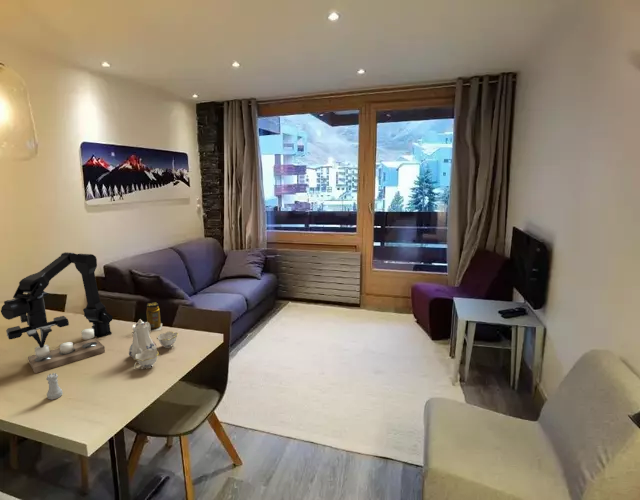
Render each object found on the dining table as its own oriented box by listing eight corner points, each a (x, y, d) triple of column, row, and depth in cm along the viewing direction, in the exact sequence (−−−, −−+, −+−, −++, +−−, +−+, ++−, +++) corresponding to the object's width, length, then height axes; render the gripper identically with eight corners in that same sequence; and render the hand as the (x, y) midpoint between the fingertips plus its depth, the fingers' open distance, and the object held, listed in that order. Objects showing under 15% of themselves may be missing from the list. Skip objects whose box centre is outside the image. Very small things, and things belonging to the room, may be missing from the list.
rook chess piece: (52, 392, 125) (49, 371, 124) (66, 392, 126) (62, 371, 124) (43, 400, 121) (40, 378, 120) (58, 399, 121) (54, 378, 120)
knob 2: (92, 334, 158) (91, 327, 157) (95, 337, 155) (94, 330, 154) (81, 337, 155) (80, 330, 154) (83, 340, 152) (83, 333, 151)
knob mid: (72, 347, 153) (71, 341, 152) (74, 351, 150) (74, 344, 149) (59, 351, 150) (58, 344, 149) (62, 354, 147) (61, 347, 146)
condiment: (162, 323, 185) (160, 301, 183) (161, 330, 177) (159, 306, 175) (146, 325, 182) (144, 302, 180) (144, 332, 175) (142, 308, 172)
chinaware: (156, 377, 139) (157, 336, 135) (111, 373, 137) (111, 333, 134) (180, 344, 166) (182, 309, 163) (143, 341, 165) (143, 306, 162)
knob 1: (48, 350, 147) (47, 343, 146) (50, 354, 144) (49, 347, 143) (34, 354, 144) (33, 347, 143) (37, 358, 141) (35, 351, 140)
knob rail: (96, 343, 163) (95, 337, 162) (105, 352, 155) (104, 346, 154) (29, 362, 146) (28, 356, 145) (34, 373, 138) (33, 367, 137)
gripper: (59, 299, 152) (64, 334, 155) (1, 310, 139) (8, 348, 142) (66, 305, 145) (71, 342, 148) (5, 318, 131) (12, 358, 134)
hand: (41, 347), depth 143 cm, fingers closed, pressing on knob 1
